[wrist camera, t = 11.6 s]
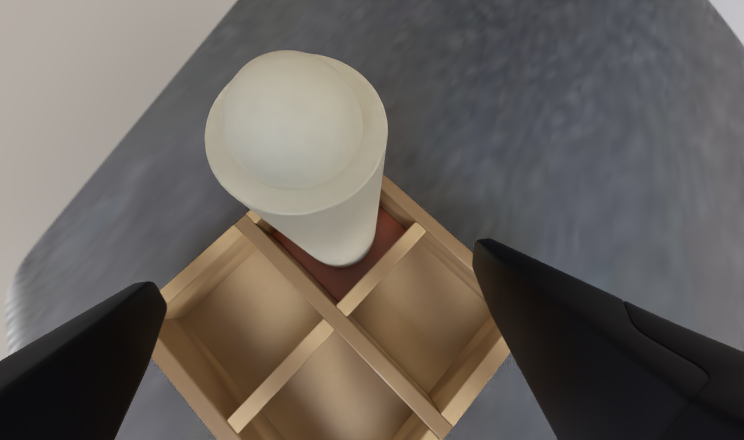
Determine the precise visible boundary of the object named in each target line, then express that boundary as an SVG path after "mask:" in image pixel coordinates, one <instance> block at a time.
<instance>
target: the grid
mask: <svg viewBox="0 0 744 440" xmlns="http://www.w3.org/2000/svg"><path fill="white" fill-rule="evenodd" d="M472 259H473V253H472V252H471V251H470V250H469V249H468V248H467V247H465V246H464V245H463V244H462V243H461V242H460V241H459V240H458V239H456V238H455V237H454V236H453V235H452V234H451V233H450V232H448V231H447V230H446V229H445V228H444V227H443V226H442V225H441V224H439V223H438V222H437V221H436V220H435V219H434V218H433V217H432V216H430V215H429V214H428V213H427V212H426V211H425V210H424V209H422V208H421V207H420V206H419V205H418V204H417V203H416V202H415V201H413V200H412V199H411V198H410V197H409V196H408V195H407V194H406V193H404V192H403V191H402V190H401V189H400V188H399V187H398V186H396V185H395V184H394V183H393V182H392V181H391V180H390V179H389V178H387V177H386V176H385V175H384V174H383V176H382V184H381V192H380V200H379V207H378V215H377V223H376V231H375V239H374V243H373V246H372V248H371V250H370V252H369V253H368V254H367V256H366V257H365V258H364V259H363V260H361V261H360V262H358V263H357V264H355V265H352V266H349V267H345V268H334V267H330V266H327V265H324V264H323V263H321V262H319V261H318V260H317V259H315V258H314V257H313V256H311V255H310V254H309V253H307V252H306V251H305V250H303V249H302V248H301V247H299V246H298V245H297V244H295V243H294V242H293V241H291V240H290V239H289V238H287V237H286V236H285V235H283V234H282V233H281V232H280V231H278V230H277V229H276V228H274V227H273V226H272V225H270V224H269V223H268V222H266V221H265V220H264V219H262V218H261V217H260V216H258V215H257V214H256V213H254V212H253V211H252V210H250V211H248V212H247V213H246V215H244V216H243V217H242V218H241V219H240V220H239V221H237V222H236V223H235V225H233V226H232V227H231V228H229V229H228V230H227V231H226V232H225V233H224V234H223V235H222V236H220V237H219V238H218V239H217V240H216V241H215V242H214V243H213V244H211V245H210V246H209V247H208V248H207V249H206V250H205V251H204V252H202V253H201V254H200V255H199V256H198V257H197V258H196V259H195V260H194V261H192V262H191V263H190V264H189V265H188V266H187V267H186V268H185V269H183V270H182V271H181V272H180V273H179V274H178V275H177V276H176V277H174V278H173V279H172V280H171V281H170V282H169V283H168V284H167V285H165V286H164V287H163V288H162V289H161V290H160V293H161V294H162V296H163V298H164V299H165V301H166V303H167V313H166V316H165V318H164V321H163V324H162V327H161V330H160V333H159V336H158V339H157V342H156V345H155V348H154V351H153V353H152V356H151V357H152V359H153V360H154V361H155V362H156V364H157V365H158V366H159V367H160V369H161V370H162V371H163V372H164V374H165V375H166V376H167V377H168V379H169V380H170V381H171V382H172V384H173V385H174V386H175V387H176V389H177V390H178V391H179V392H180V394H181V395H182V396H183V397H184V399H185V400H186V401H187V402H188V404H189V405H190V406H191V407H192V409H193V410H194V411H195V413H196V414H197V415H198V416H199V418H200V419H201V420H202V421H203V423H204V424H205V425H206V426H207V428H208V429H209V430H210V431H211V433H212V434H213V435H214V436H215V438H216V439H217V440H440V439H441V440H443V439H444V438H445V437H446V435H447V434H448V433H449V432H450V430H451V429H452V426H454V425H455V424H456V423H457V421H458V420H459V419H460V418H461V416H462V415H463V414H464V412H465V411H466V410H467V408H468V407H469V406H470V404H471V403H472V402H473V400H474V399H475V398H476V397H477V395H478V394H479V393H480V391H481V390H482V389H483V387H484V386H485V385H486V383H487V382H488V381H489V379H490V378H491V377H492V376H493V374H494V373H495V372H496V370H497V369H498V368H499V366H500V365H501V364H502V362H503V361H504V360H505V359H506V357H507V356H508V355H509V353H510V350H509V348H508V346H507V344H506V342H505V340H504V339H503V337H502V335H501V333H500V331H499V329H498V327H497V326H496V324H495V322H494V320H493V318H492V316H491V313H490V311H489V309H488V306H487V304H486V301H485V299H484V296H483V294H482V291H481V289H480V286H479V284H478V281H477V279H476V276H475V274H474V271H473V267H472Z"/></svg>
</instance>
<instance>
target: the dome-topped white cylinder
mask: <svg viewBox="0 0 744 440" xmlns="http://www.w3.org/2000/svg"><path fill="white" fill-rule="evenodd" d="M387 137H388V124H387V118H386V113H385V110H384V107H383V104H382V102H381V100H380V98H379V96H378V94H377V92H376V91H375V89H374V88H373V87H372V85H371V84H370V83H369V82H368V81H367V80H366V79H365V78H364V77H363V76H362V75H361V74H360V73H359V72H357V71H356V70H354V69H353V68H351V67H350V66H348V65H346V64H344V63H342V62H340V61H338V60H335V59H332V58H329V57H325V56H321V55H315V54H308V53H304V52H299V51H292V50H282V51H274V52H270V53H267V54H263V55H261V56H259V57H257V58H255V59H253V60H251V61H250V62H249V63H247V64H246V65H245V66H244V67H243V68H242V69H240V71H239V72H238V73H237V74H236V76H235V77H234V78H233V79H232V80H231V81H230V82H229V83H228V84H227V85H226V86H225V88H224V89H223V90H222V91H221V92H220V94H219V95H218V97H217V99H216V100H215V102H214V104H213V106H212V108H211V110H210V112H209V116H208V119H207V122H206V129H205V148H206V155H207V158H208V161H209V165H210V167H211V169H212V171H213V173H214V175H215V177H216V178H217V180H218V181H219V182H220V184H221V185H222V186H223V187H224V188H225V189H226V190H227V192H228V193H230V194H231V195H232V196H233V197H235V198H236V199H237V200H238V201H240V202H241V203H242V204H244V205H245V206H246V207H248V208H249V209H250V210H252V211H253V212H254V213H256V214H257V215H258V216H260V217H261V218H262V219H264V220H265V221H266V222H268V223H269V224H270V225H272V226H273V227H274V228H276V229H277V230H278V231H280V232H281V233H282V234H283V235H285V236H286V237H287V238H289V239H290V240H291V241H293V242H294V243H295V244H297V245H298V246H299V247H301V248H302V249H303V250H305V251H306V252H307V253H309V254H310V255H311V256H313V257H314V258H315V259H317V260H318V261H319V262H321V263H323V264H324V265H327V266H330V267H334V268H345V267H349V266H352V265H355V264H357V263H358V262H360V261H361V260H363V259H364V258H365V257H366V256H367V254H368V253H369V252H370V250H371V248H372V246H373V243H374V239H375V231H376V223H377V215H378V207H379V200H380V192H381V184H382V176H383V168H384V160H385V152H386V144H387Z"/></svg>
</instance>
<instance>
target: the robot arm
mask: <svg viewBox="0 0 744 440" xmlns="http://www.w3.org/2000/svg"><path fill="white" fill-rule="evenodd" d="M472 267H473V271H474V274H475V276H476V279H477V281H478V284H479V286H480V289H481V291H482V294H483V296H484V299H485V301H486V304H487V306H488V309H489V311H490V313H491V316H492V318H493V320H494V322H495V324H496V326H497V327H498V329H499V331H500V333H501V335H502V337H503V339H504V340H505V342H506V344H507V346H508V348H509V350H510V352H511V353H512V355H513V357H514V359H515V361H516V363H517V365H518V366H519V368H520V370H521V372H522V374H523V376H524V378H525V379H526V381H527V383H528V385H529V387H530V389H531V391H532V392H533V394H534V396H535V398H536V400H537V402H538V404H539V405H540V407H541V409H542V411H543V413H544V415H545V417H546V418H547V420H548V422H549V424H550V426H551V428H552V430H553V431H554V433H555V435H556V437H557V439H558V440H744V352H742V351H740V350H737V349H735V348H733V347H730V346H728V345H725V344H723V343H720V342H718V341H715V340H713V339H711V338H708V337H706V336H703V335H701V334H699V333H696V332H694V331H691V330H689V329H687V328H684V327H682V326H679V325H677V324H675V323H672V322H670V321H668V320H666V319H664V318H661V317H659V316H657V315H655V314H652V313H650V312H648V311H646V310H644V309H641V308H639V307H637V306H635V305H633V304H631V303H629V302H626V301H624V302H623V301H622V299H620V298H618V297H616V296H613V295H611V294H609V293H607V292H605V291H603V290H600V289H598V288H596V287H594V286H592V285H590V284H588V283H585V282H583V281H581V280H579V279H577V278H575V277H572V276H570V275H568V274H566V273H564V272H562V271H560V270H557V269H555V268H553V267H551V266H549V265H547V264H544V263H542V262H540V261H538V260H536V259H534V258H532V257H529V256H527V255H525V254H523V253H521V252H519V251H516V250H514V249H512V248H510V247H508V246H506V245H504V244H501V243H499V242H497V241H495V240H493V239H490V238H488V239H480V240H477V241H475V244H474V251H473V259H472ZM166 313H167V303H166V301H165V299H164V298H163V296H162V294H161V293H160V291H159V289H158V287H157V286H156V284H155V283H153V282H150V281H148V282H140V283H135V284H132V285H131V286H129V287H127V288H125V289H124V290H122V291H120V292H119V293H117V294H115V295H113V296H112V297H110V298H108V299H106V300H105V301H103V302H101V303H100V304H98V305H96V306H94V307H93V308H91V309H89V310H87V311H86V312H84V313H82V314H81V315H79V316H77V317H75V318H74V319H72V320H70V321H68V322H67V323H65V324H63V325H62V326H60V327H58V328H56V329H55V330H53V331H51V332H49V333H48V334H46V335H44V336H43V337H41V338H39V339H37V340H36V341H34V342H32V343H30V344H29V345H27V346H25V347H24V348H22V349H20V350H18V351H17V352H15V353H13V354H11V355H10V356H8V357H6V358H5V359H3V360H1V361H0V440H114V439H115V437H116V435H117V433H118V431H119V428H120V426H121V424H122V422H123V420H124V417H125V415H126V413H127V411H128V409H129V407H130V404H131V402H132V400H133V398H134V396H135V393H136V391H137V389H138V387H139V385H140V383H141V380H142V378H143V376H144V374H145V371H146V369H147V367H148V364H149V362H150V359H151V356H152V353H153V351H154V348H155V345H156V342H157V339H158V336H159V333H160V330H161V327H162V324H163V321H164V318H165V316H166Z"/></svg>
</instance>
